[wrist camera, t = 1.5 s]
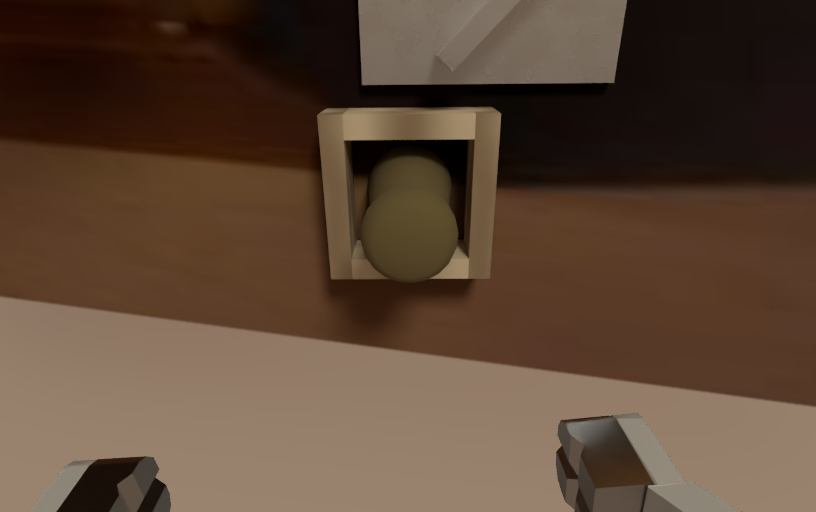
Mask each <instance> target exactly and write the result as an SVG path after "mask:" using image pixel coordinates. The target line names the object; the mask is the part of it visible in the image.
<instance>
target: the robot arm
mask: <svg viewBox="0 0 816 512" xmlns="http://www.w3.org/2000/svg"><path fill="white" fill-rule="evenodd" d="M558 437H559V440H560V442H561V444H562V446H561V447H560V448H559V449H558V450H557V452H556V468H557V475H558V481H559V484H560V488H561V491H562V494H563V497H564V500H565V502H566V503H567V504H569V505H570V506H571V507H572V508H573V509H575V512H742V511H740V510H738V509H737V508H735V507H734V506H732V505H731V504H729V503H727V502H726V501H724V500H723V499H721V498H720V497H718V496H716V495H715V494H713V493H711V492H710V491H708V490H707V489H705V488H704V487H702V486H701V485H699V484H697V483H696V482H686V481H685V479H684V478H683V476H682V475H681V473H680V472H679V471H678V469H677V468H676V466H675V465H674V463H673V462H672V460H671V459H670V457H669V456H668V454H667V453H666V451H665V450H664V449H663V447H662V445H661V444H660V443H659V441H658V440H657V438H656V437H655V435H654V434H653V432H652V431H651V429H650V428H649V426H648V425H647V424H646V422H645V421H644V419H643V418H642V416H640V415H639V414H637V413H632V414H622V415H611V416H601V417H590V418H580V419H570V420H561V421H560V423H559V426H558ZM158 471H159V468H158V466H157V464H156V462H155V460H154V458H153V457H129V458H112V459H98V460H87V461H73V462H72V463H70V464H68V465H67V466H65V467H64V468H63V469H62V470H61V472H60V473H59V474H58V476H57V477H56V478H55V479H54V481H53V482H52V483H51V485H50V486H49V487H48V488H47V490H46V491H45V492H44V493H43V495H42V496H41V497H40V499H39V500H38V501H37V503H36V504H35V505H34V506H33V508H32V509H31V510H30V512H170V507H171V502H170V494H169V491H168V489H167V486H166V485H165V484H164V483H162V482H161V481H159V480H158V479H156V478H155V477H156V475H157V473H158Z"/></svg>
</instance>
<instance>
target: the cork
mask: <svg viewBox="0 0 816 512" xmlns="http://www.w3.org/2000/svg"><path fill="white" fill-rule="evenodd" d="M451 191H452V181H451V176H450V172H449V170H448V168H447V167H446V165H445V163H444V162H443V160H442V159H441V158H439V157H438V156H437V155H436V154H435V153H434V152H432V151H430V150H428V149H425V148H423V147H420V146H409V145H406V146H402V147H397V148H393V149H392V150H390V151H388V152H387V153H385V154H384V155H382V156H381V157H380V158H379V160H378V161H377V162H376V163H375V164H374V166H373V168H372V170H371V173H370V176H369V178H368V195H369V201H370V206H369V208H368V209H367V211H366V214H365V216H364V219H363V221H362V224H361V236H360V241H361V244H362V247H363V251H364V254H365V256H366V258H367V260H368V261H369V262H370V264H371V265H372V267H373V268H374V269H375V270H376V271H378V272H379V273H380V274H382V275H383V276H384V277H386V278H389V279H392V280H394V281H397V282H405V283H415V282H420V281H425V280H428V279H430V278H432V277H433V276H435V275H437V274H439V273H440V272H441V271H442V270H443V269H444V268H445V267H446V266H447V265H448V264H449V262H450V260H451V258H452V256H453V254H454V252H455V250H456V248H457V241H458V234H459V233H458V228H457V224H456V219H455V216H454V214H453V212H452V211H451V209H450V207H449V204H450V199H451Z"/></svg>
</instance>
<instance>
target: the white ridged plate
mask: <svg viewBox="0 0 816 512" xmlns="http://www.w3.org/2000/svg"><path fill="white" fill-rule="evenodd" d="M626 3H627V0H358V7H359V29H360V50H361V72H362V85H420V84H531V83H614V78H615V72H616V65H617V59H618V53H619V47H620V40H621V34H622V28H623V21H624V15H625V9H626Z"/></svg>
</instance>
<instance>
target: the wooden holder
mask: <svg viewBox="0 0 816 512" xmlns="http://www.w3.org/2000/svg"><path fill="white" fill-rule="evenodd" d="M317 118H318V130H319V142H320V154H321V165H322V177H323V189H324V201H325V213H326V225H327V236H328V248H329V260H330V272H331V279H389V278H386V277H384V276H383V275H382V274H380V273H379V272H378V271H376V270H375V269H374V268H373V267H372V265H371V264H370V262H369V261H368V260H367V258H366V256H365V254H364V251H363V247H362V244H361V241H360V240H357V232H356V215H355V198H354V180H353V163H352V145H351V140H450V139H468V152H467V175H466V199H465V222H464V240H458V241H457V248H456V250H455V252H454V254H453V256H452V258H451V260H450V262H449V264H448V265H447V266H446V267H445V268H444V269H443V270H442V271H441V272H440V273H439V274H437V275H435V276H433V277H432V278H430V279H490V268H491V253H492V239H493V224H494V210H495V196H496V181H497V167H498V152H499V138H500V123H501V113H500V112H498V111H497V110H495V109H494V108H493V107H432V108H327V109H325V110H324V111H322V112H321V113H320V114H318V115H317Z"/></svg>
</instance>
